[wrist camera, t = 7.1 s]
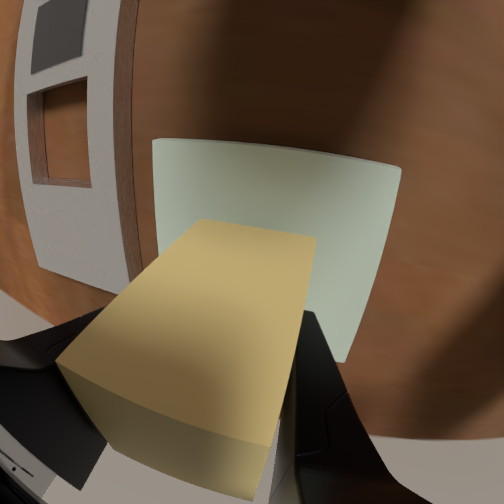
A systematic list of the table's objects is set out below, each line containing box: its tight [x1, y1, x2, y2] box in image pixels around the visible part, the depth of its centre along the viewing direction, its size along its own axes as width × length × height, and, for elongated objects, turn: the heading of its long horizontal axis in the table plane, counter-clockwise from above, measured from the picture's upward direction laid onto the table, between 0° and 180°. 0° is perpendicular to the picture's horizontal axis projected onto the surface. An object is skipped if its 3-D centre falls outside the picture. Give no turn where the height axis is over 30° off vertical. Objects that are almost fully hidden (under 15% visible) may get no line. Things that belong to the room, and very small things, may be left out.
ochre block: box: [55, 219, 317, 501], centre depth 8 cm, size 4×4×7 cm
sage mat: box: [152, 138, 402, 363], centre depth 12 cm, size 9×9×1 cm
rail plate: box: [14, 0, 143, 295], centre depth 10 cm, size 8×20×1 cm, turn 176°
